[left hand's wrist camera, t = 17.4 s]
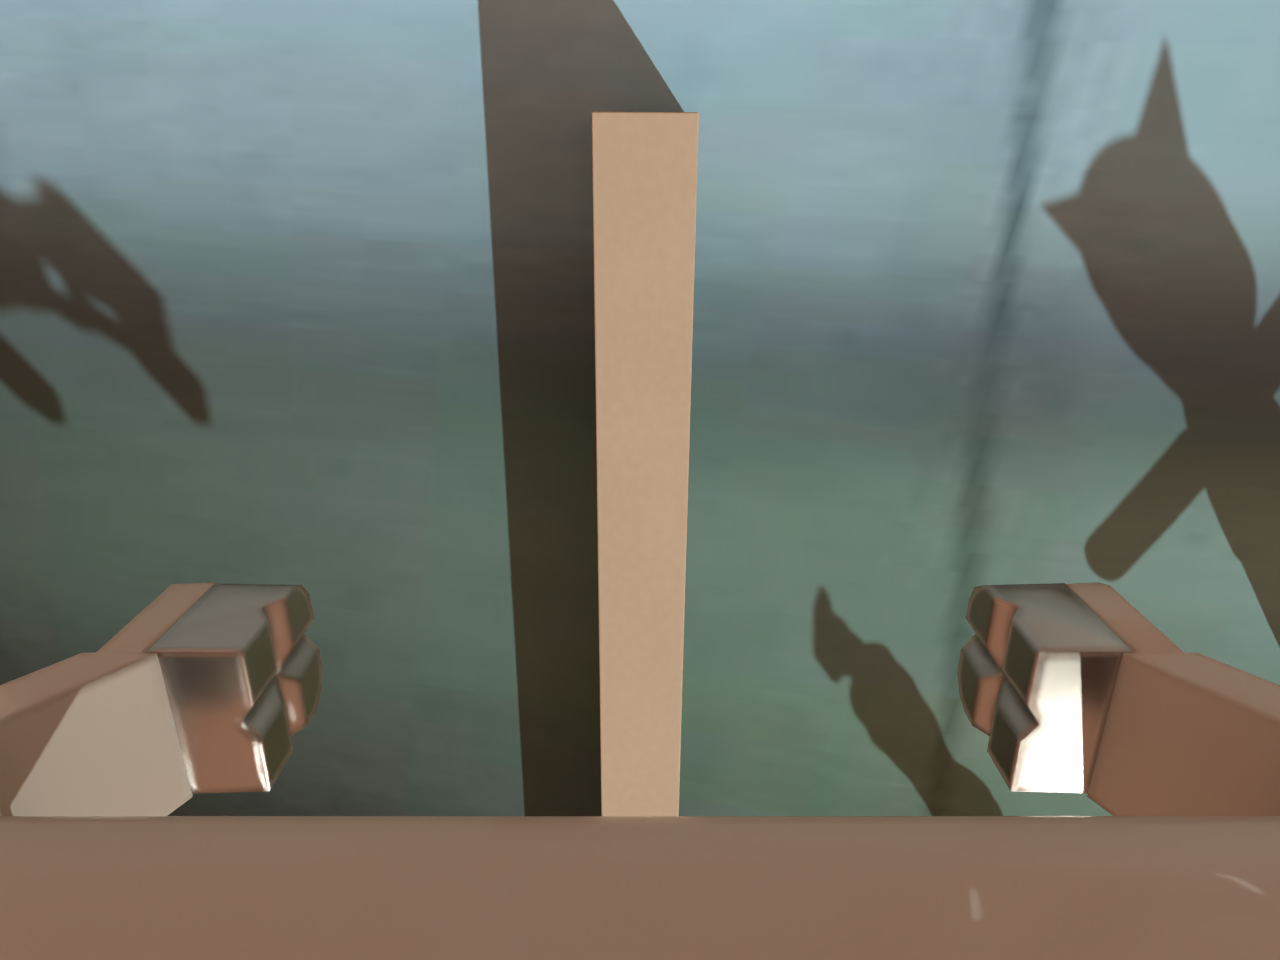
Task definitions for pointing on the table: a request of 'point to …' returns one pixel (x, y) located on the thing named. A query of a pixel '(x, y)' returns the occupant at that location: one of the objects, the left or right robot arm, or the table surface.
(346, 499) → the table surface
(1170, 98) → the table surface
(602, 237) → the beam
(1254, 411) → the table surface
